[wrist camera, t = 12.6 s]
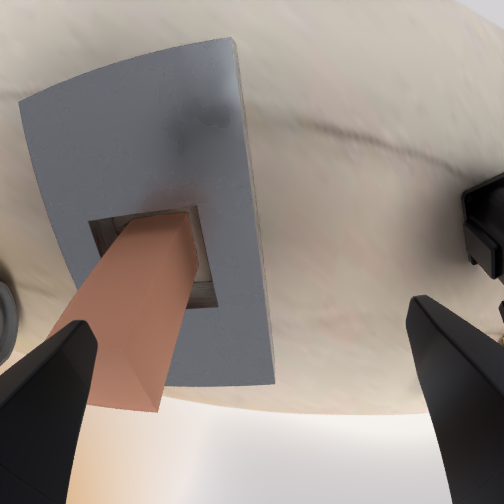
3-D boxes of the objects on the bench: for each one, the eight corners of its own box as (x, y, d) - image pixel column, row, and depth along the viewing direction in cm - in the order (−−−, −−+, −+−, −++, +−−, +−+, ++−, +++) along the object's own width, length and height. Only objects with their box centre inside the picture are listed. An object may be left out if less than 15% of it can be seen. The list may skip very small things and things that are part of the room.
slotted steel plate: (235, 43, 15) (231, 37, 13) (274, 357, 27) (275, 384, 25) (45, 95, 16) (18, 102, 14) (136, 360, 28) (127, 384, 26)
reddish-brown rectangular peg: (187, 212, 21) (122, 350, 10) (198, 264, 23) (157, 412, 12) (132, 218, 21) (42, 345, 11) (146, 268, 23) (83, 403, 13)
